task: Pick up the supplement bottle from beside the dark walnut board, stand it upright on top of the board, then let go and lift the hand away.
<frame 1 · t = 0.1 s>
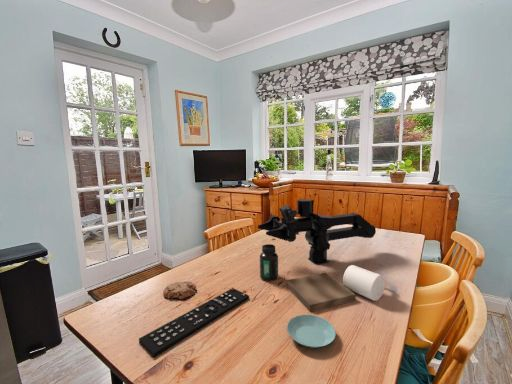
hand: (261, 229, 99), 17 cm above the table, tool horizontal, fingers open, 9 cm apart
remote control: (201, 319, 73), on the table
mug: (366, 292, 84), on the table
supplement bottle: (269, 277, 96), on the table
walnut board: (318, 292, 84), on the table
cookie: (180, 293, 87), on the table
saucer: (310, 337, 64), on the table
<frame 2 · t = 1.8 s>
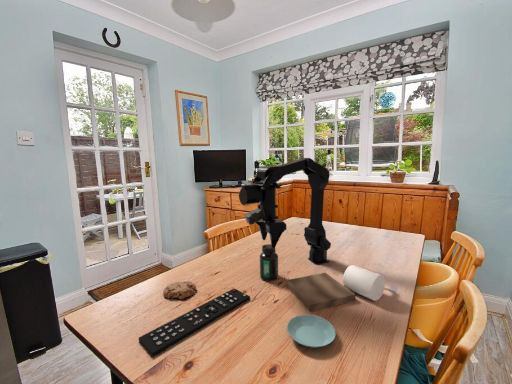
hand: (268, 243, 94), 13 cm above the table, tool pointing down, fingers open, 9 cm apart
nothing on the table moved.
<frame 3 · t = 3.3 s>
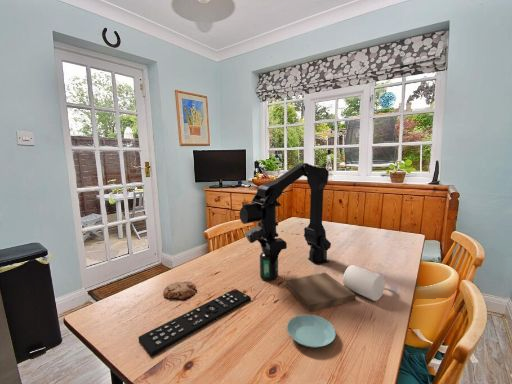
hand: (268, 260, 95), 7 cm above the table, tool pointing down, fingers closed on supplement bottle, 7 cm apart
supplement bottle: (269, 277, 96), on the table, touching gripper
everything else where it was.
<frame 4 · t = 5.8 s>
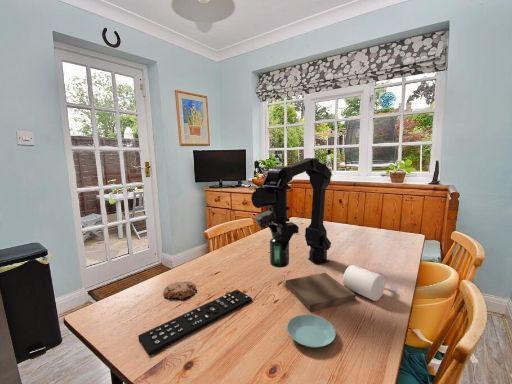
hand: (279, 246, 91), 13 cm above the table, tool pointing down, fingers closed on supplement bottle, 7 cm apart
supplement bottle: (279, 264, 92), point 6 cm above the table, touching gripper
everything else where it was.
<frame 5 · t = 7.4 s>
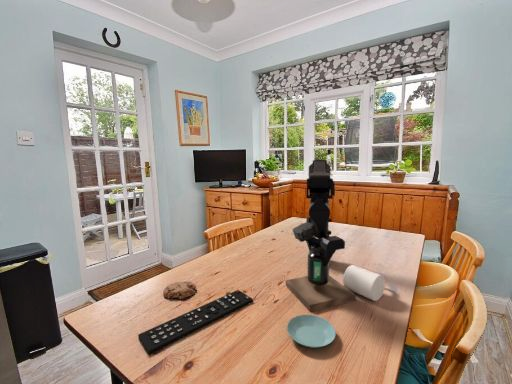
hand: (318, 261, 83), 11 cm above the table, tool pointing down, fingers closed on supplement bottle, 7 cm apart
supplement bottle: (317, 281, 84), point 4 cm above the table, touching gripper
when the fingers open (10 cm above the table, at t = 8.5 s): supplement bottle drops 1 cm, resting on walnut board.
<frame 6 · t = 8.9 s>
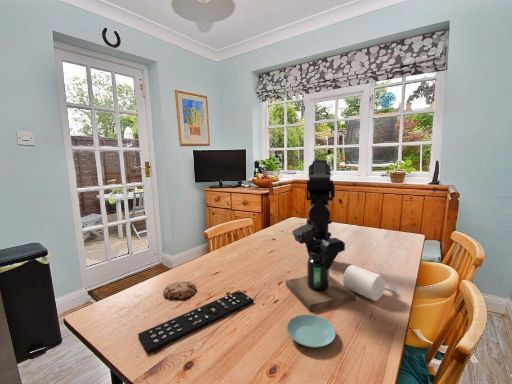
hand: (318, 263, 83), 10 cm above the table, tool pointing down, fingers open, 9 cm apart
supplement bottle: (317, 286, 84), point 2 cm above the table, touching walnut board
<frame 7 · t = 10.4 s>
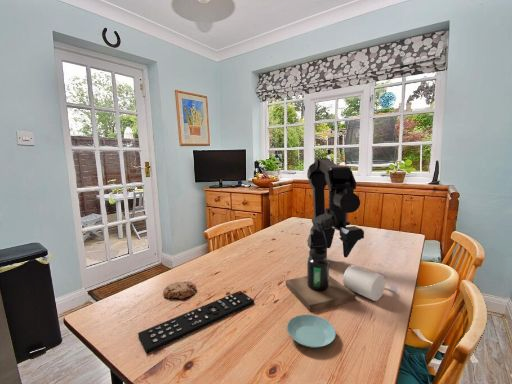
hand: (336, 252, 85), 13 cm above the table, tool pointing down, fingers open, 9 cm apart
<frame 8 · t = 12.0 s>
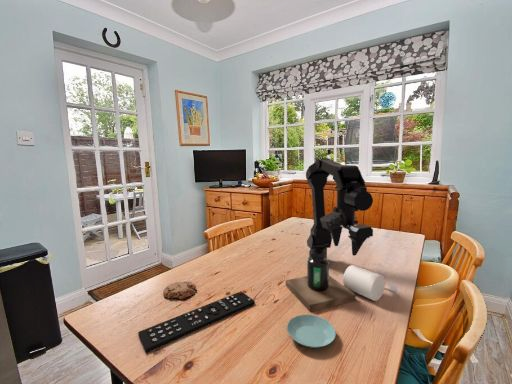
hand: (344, 250, 86), 13 cm above the table, tool pointing down, fingers open, 9 cm apart
at the end: supplement bottle inside the target area on the walnut board (0.4 cm from its centre), point 1.8 cm above the walnut board's base; supplement bottle tilted 0°; the gripper is holding nothing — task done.
